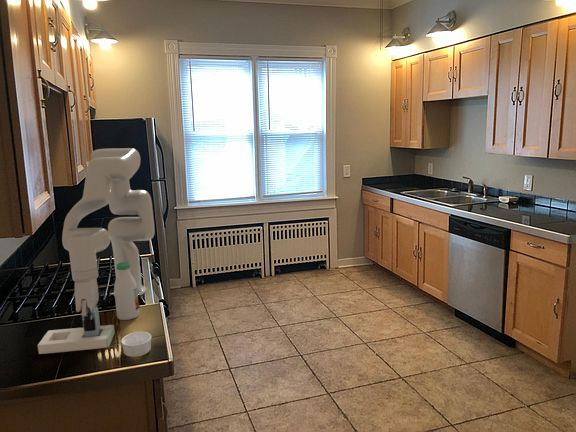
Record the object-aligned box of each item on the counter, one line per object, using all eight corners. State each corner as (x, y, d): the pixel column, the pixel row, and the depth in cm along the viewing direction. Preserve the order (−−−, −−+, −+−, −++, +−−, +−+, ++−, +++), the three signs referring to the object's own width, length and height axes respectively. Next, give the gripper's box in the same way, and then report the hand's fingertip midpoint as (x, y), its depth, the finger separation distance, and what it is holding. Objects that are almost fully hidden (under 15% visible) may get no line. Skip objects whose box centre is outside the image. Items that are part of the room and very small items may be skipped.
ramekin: (156, 352, 145) (155, 339, 144) (127, 361, 140) (125, 348, 139) (147, 341, 152) (146, 329, 151) (119, 349, 147) (117, 336, 147)
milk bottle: (132, 321, 167) (127, 267, 162) (113, 320, 168) (106, 266, 164) (143, 312, 174) (138, 260, 170) (124, 311, 176) (118, 259, 171)
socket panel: (49, 338, 155) (48, 330, 155) (114, 332, 158) (113, 324, 158) (38, 354, 146) (37, 345, 145) (108, 347, 149) (107, 338, 148)
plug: (88, 336, 154) (84, 304, 152) (101, 335, 155) (97, 303, 152) (85, 342, 150) (81, 309, 148) (98, 341, 151) (94, 308, 148)
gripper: (79, 265, 155) (86, 317, 159) (64, 283, 139) (72, 340, 143) (103, 263, 156) (109, 315, 160) (91, 281, 140) (98, 338, 144)
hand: (91, 326), depth 152 cm, fingers closed on plug, 4 cm apart
